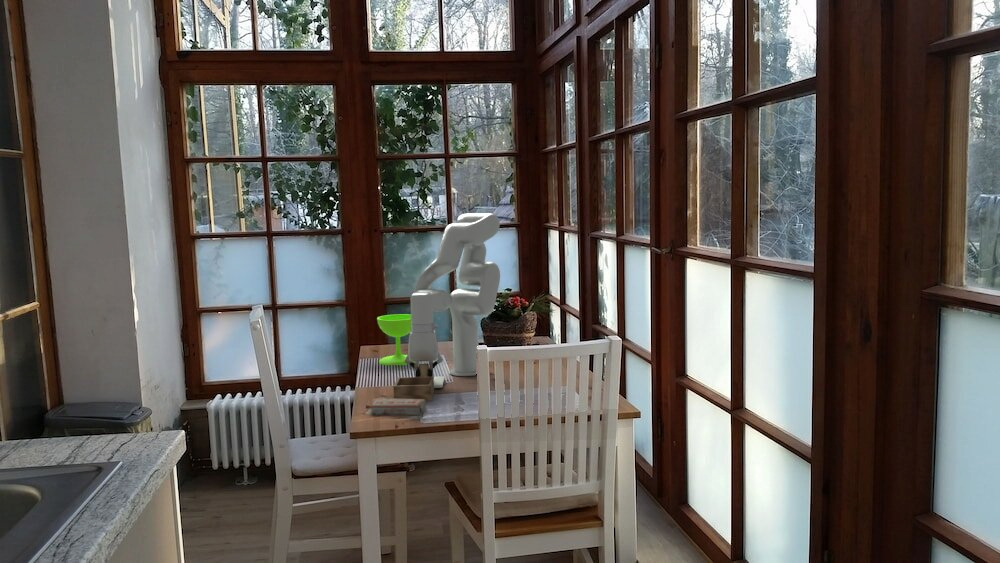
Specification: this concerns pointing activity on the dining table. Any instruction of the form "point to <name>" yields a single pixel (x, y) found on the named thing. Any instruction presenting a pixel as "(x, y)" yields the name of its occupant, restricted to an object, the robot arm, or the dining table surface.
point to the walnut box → (414, 388)
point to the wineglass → (395, 335)
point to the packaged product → (398, 407)
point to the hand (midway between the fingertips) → (424, 380)
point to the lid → (424, 373)
